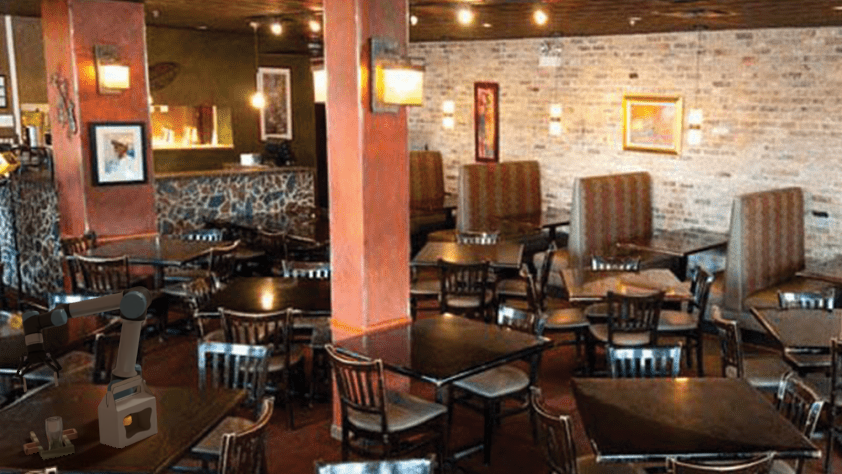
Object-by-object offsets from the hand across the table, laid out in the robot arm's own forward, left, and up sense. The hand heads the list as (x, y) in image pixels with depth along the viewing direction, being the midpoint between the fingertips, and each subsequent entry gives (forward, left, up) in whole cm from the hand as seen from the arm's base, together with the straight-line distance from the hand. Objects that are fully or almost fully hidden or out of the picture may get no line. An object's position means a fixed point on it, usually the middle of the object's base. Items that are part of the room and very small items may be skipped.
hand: (41, 388), depth 389 cm
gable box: (-42, +7, -21) cm, 48 cm away
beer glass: (-15, +22, -21) cm, 34 cm away
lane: (-10, +15, -21) cm, 28 cm away
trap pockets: (-9, +14, -21) cm, 27 cm away
